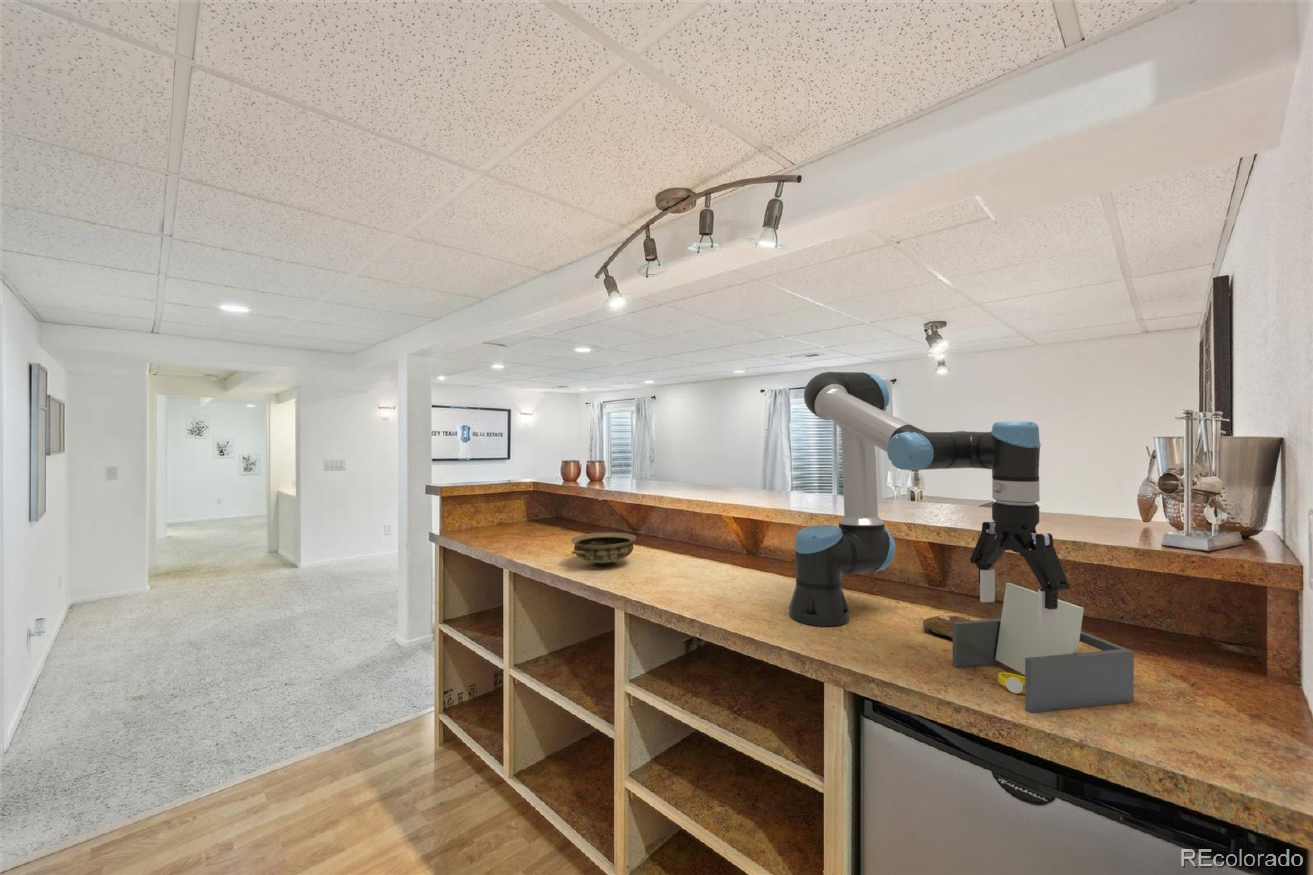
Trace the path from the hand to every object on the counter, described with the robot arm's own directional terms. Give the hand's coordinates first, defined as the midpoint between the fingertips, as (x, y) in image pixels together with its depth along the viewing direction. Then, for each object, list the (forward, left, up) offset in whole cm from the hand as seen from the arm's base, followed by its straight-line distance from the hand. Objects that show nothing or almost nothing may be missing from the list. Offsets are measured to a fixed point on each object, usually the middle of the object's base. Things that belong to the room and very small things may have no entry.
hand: (1014, 613), depth 102 cm
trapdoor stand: (0, +5, -14) cm, 14 cm away
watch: (-1, +1, -13) cm, 13 cm away
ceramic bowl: (-109, -71, -14) cm, 131 cm away
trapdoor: (0, +5, -5) cm, 6 cm away
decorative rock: (-24, +7, -14) cm, 29 cm away
